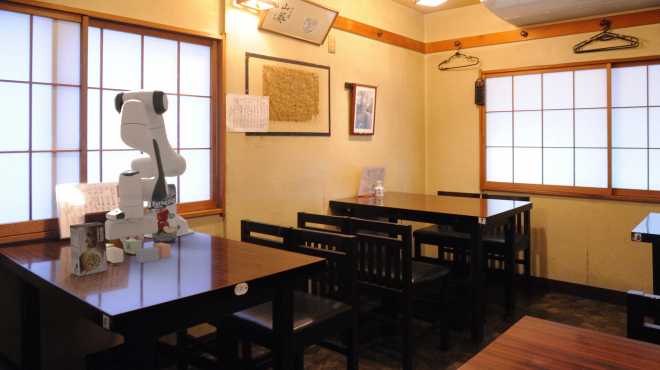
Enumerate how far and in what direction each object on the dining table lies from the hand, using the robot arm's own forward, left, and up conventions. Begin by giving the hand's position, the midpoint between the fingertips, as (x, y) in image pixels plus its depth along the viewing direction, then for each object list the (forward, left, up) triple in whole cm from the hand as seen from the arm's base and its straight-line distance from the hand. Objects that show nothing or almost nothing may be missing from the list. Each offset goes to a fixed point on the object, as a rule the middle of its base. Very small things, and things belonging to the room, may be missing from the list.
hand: (132, 247), depth 183 cm
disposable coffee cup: (-1, -14, -3) cm, 14 cm away
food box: (+23, +15, -3) cm, 27 cm away
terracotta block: (-6, +10, -3) cm, 12 cm away
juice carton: (-21, -14, -3) cm, 26 cm away
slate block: (+2, +14, -3) cm, 15 cm away
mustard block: (+9, -6, -3) cm, 11 cm away
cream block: (+10, +5, -3) cm, 11 cm away
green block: (0, 0, -2) cm, 2 cm away
